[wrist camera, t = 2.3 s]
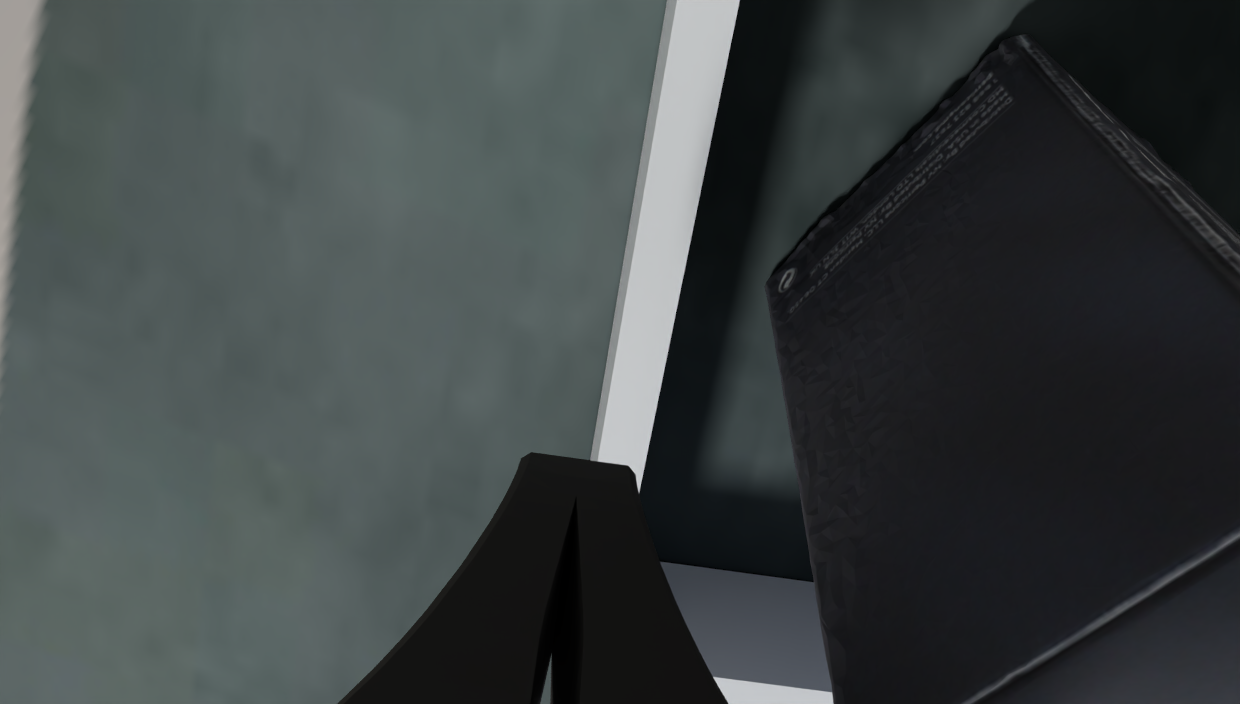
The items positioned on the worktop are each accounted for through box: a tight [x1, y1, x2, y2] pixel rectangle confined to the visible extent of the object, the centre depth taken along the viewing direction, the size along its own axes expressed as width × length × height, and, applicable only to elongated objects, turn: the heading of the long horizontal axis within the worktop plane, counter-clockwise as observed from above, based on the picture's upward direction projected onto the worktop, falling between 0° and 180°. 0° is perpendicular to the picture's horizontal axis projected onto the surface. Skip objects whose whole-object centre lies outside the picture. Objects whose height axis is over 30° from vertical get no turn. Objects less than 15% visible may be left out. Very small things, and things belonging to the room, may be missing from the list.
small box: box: [765, 34, 1240, 704], centre depth 15 cm, size 11×6×10 cm, turn 52°
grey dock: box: [590, 0, 834, 704], centre depth 18 cm, size 16×16×3 cm
